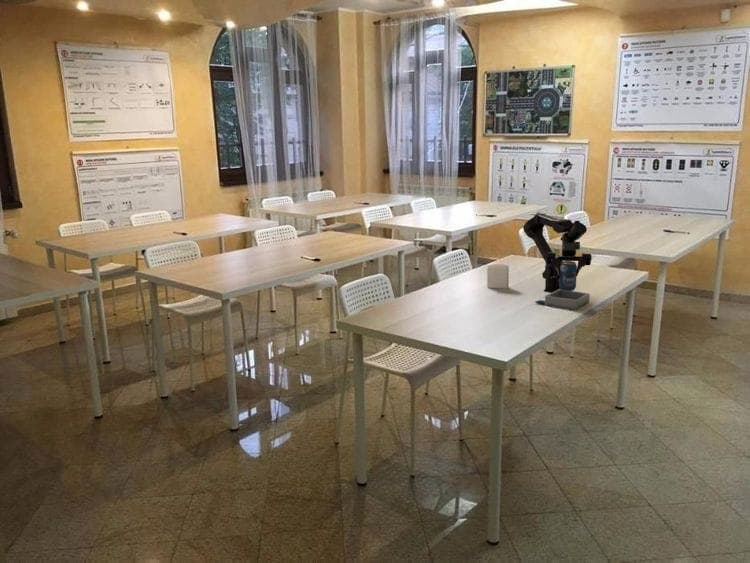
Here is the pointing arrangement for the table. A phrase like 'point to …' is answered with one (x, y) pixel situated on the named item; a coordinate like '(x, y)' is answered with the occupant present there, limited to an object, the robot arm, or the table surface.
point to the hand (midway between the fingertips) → (568, 275)
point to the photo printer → (498, 275)
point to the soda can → (568, 276)
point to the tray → (567, 299)
